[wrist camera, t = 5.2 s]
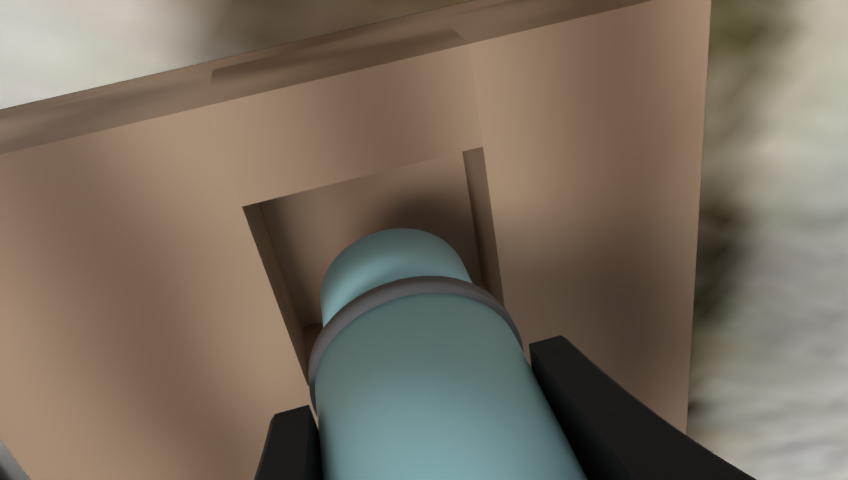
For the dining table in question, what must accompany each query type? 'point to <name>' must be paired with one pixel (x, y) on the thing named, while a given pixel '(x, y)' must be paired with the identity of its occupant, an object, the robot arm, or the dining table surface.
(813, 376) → the dining table surface
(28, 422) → the board
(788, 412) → the dining table surface
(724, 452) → the dining table surface
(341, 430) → the peg
